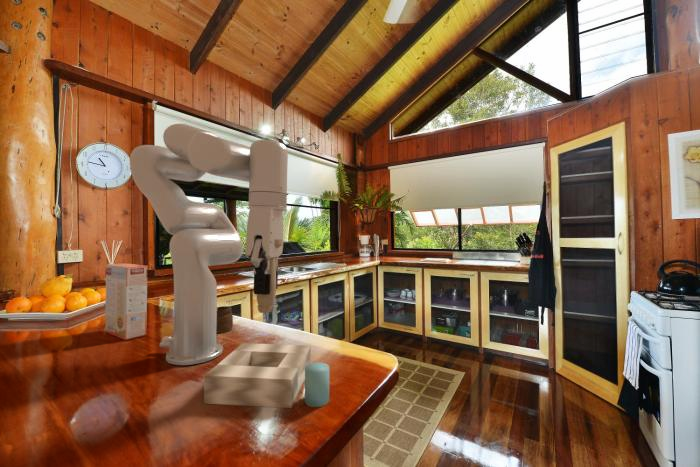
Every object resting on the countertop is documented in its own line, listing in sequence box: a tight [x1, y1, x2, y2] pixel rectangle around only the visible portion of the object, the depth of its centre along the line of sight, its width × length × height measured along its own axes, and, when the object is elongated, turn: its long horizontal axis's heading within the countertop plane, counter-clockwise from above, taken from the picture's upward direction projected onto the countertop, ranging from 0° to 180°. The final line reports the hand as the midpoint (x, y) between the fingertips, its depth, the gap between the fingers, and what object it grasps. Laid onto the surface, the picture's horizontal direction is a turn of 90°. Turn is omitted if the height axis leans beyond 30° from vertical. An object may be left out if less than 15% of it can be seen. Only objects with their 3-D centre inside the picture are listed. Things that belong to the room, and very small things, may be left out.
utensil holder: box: [216, 295, 234, 334], centre depth 94 cm, size 6×6×12 cm
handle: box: [256, 238, 284, 314], centre depth 62 cm, size 5×6×15 cm
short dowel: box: [304, 361, 330, 408], centre depth 55 cm, size 4×4×6 cm
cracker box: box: [104, 262, 148, 341], centre depth 90 cm, size 14×6×21 cm, turn 58°
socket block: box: [203, 342, 311, 409], centre depth 61 cm, size 16×16×5 cm
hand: (266, 290), depth 62 cm, fingers closed on handle, 4 cm apart
